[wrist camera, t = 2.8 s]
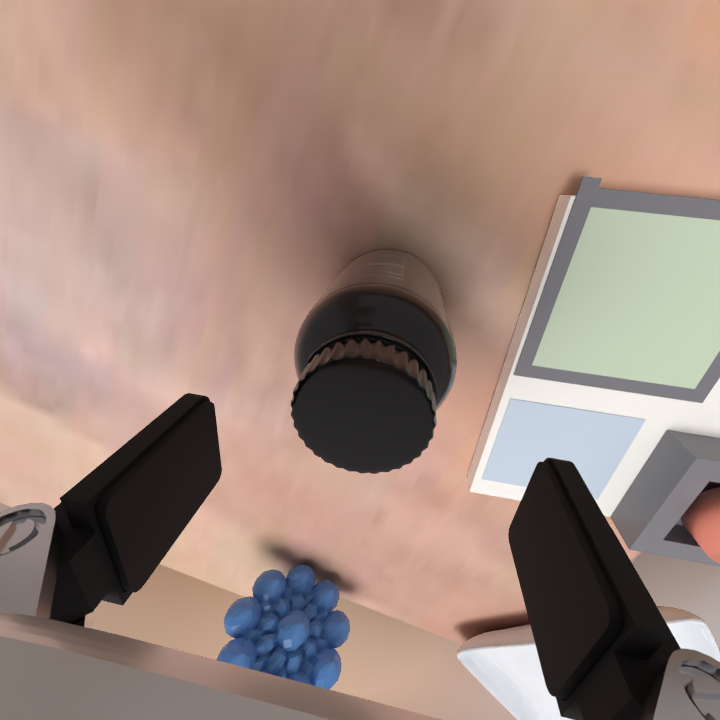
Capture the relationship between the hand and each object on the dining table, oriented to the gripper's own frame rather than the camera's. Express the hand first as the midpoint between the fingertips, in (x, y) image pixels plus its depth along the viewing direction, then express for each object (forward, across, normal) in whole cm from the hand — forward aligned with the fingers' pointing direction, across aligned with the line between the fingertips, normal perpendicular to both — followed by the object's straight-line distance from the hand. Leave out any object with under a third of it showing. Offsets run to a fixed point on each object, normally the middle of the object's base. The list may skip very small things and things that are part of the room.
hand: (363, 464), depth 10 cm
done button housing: (+12, -21, +8) cm, 26 cm away
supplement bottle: (+14, +1, -1) cm, 14 cm away
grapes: (+14, +6, +29) cm, 33 cm away
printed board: (+14, -16, +2) cm, 21 cm away
